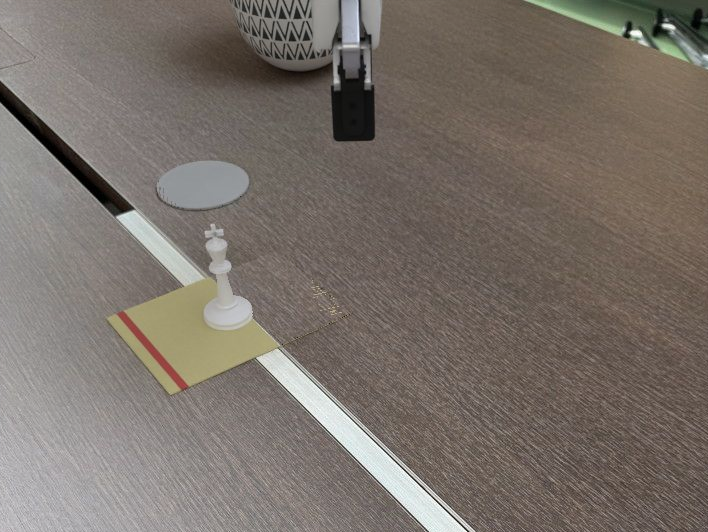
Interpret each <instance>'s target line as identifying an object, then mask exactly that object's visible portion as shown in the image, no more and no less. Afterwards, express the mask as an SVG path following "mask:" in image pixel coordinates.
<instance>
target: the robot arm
mask: <svg viewBox="0 0 708 532" xmlns="http://www.w3.org/2000/svg"><path fill="white" fill-rule="evenodd" d="M311 12H312V31H313V47H314V49H315V50H316V51H317V52H318V53H322V50H329V49H330V47H331V44H332V52H333V61H332V76H333V85H330V98H331V99H330V100H331V101H330V103H331V119H332V136H333V137H332V138H333V140H334V141H335V142H338V143H340V142H342V143H343V142H347V143H348V142H372V141H374V140H375V138H376V105H375V103H376V102H375V101H376V100H375V99H376V98H375V84H372V82H373V55H372V54H373V52H374V51H376V49H377V48H378V47H379V46H380V38H381V37H380V36H381V24H382V12H383V0H311ZM337 31H338V33H337Z"/></svg>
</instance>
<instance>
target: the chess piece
mask: <svg viewBox="0 0 708 532" xmlns="http://www.w3.org/2000/svg"><path fill="white" fill-rule="evenodd" d="M209 224H210V230H204V235H205V236H204V237H205V239H207V238H211V239H208V240H207V241H206V243H205V244H204V245H205V250H206V252H207V253H208V254H209V257H210V258H211V260H212V261H211V262H210V263H209V265H208V270H209V272H210V273H211V274H213V275H215V274H216V279H217V298H215V299H213V300H211V301H210V302H209V303H208V304H207V305H206V306H205V308H204V321H205V323H206V324H207V325H208V326H209V327H211V328H213V329H216V330H222V331H229V330H235V329H239V328H241V327H243V326H245V325H246V324H248V323H249V322H250V321H251V319H252V318H253V317H252V316H253V314H252V313H253V311H252V305H251V303H250V302H249V301H248V300H247V299H245V298H243V297H241V296H236V295H233V292H232V289H231V286H230V283H229V280H228V276H227V272H229V271H230V270H231V268H232V267H233V266H232V263H231V261H229V260H228V259H226V256H227V250H228V242H227V241H226V240H225V239H223V238H221V237H223V236H225V232H224V228H218V229H217V226H216V223H209ZM218 237H219V238H218Z"/></svg>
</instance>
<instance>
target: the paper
mask: <svg viewBox="0 0 708 532" xmlns="http://www.w3.org/2000/svg"><path fill="white" fill-rule="evenodd" d="M209 277H210V276H208V277H205V278H202V279H200V280H198V281H195V282H192V283H190V284H188V285H185V286H182V287H180V288H177V289H175V290H172V291H170V292H167V293H165V294H162V295H160V296H157V297H155V298H152V299H150V300H147V301H145V302H143V303H140V304H137V305H135V306H132V307H130V308H128V309H125V310H122V311H119V312H117V313H115V314H112V315H110V316H107V317H105V318H106V321H107V322H108V323H109V324H110V325H111V327H112V328H113V329H114V331H115V332H116V333H117V334H118V335H119V336H120V338H121V339H122V340H123V341H124V342H125V344H126V345H127V346H128V347H129V348H130V350H131V351H132V352H133V353H134V355H136V357H137V358H138V359H139V360H140V361H141V363H142V364H143V365H144V366H145V368H146V369H147V370H148V371H149V372H150V374H152V376H153V377H154V378H155V379H156V380H157V382H158V383H159V384H160V386H161V387H162V388H163V389H164V390H165V392H167V394H168V395H169V396H174V395H176V394H178V393H181V392H182V391H185V390H188V389H189V388H191V387H194V386H196V385H198V384H200V383H202V382H204V381H207V380H209V379H211V378H213V377H216V376H218V375H221V374H223V373H225V372H227V371H229V370H231V369H234V368H237V367H238V366H241V365H242V364H245V363H247V362H249V361H251V360H253V359H254V360H255V359H256V358H258V357H260V356H263V355H265V354H267V353H269V352H271V351H273V350H276V349H279V348H281V347H283V346H286V345H287V344H289V343H292V342H293V341H296V340H299V339H301V338H303V337H305V336H307V335H310V334H311V333H314V332H316V331H319V330H321V329H322V328H325V327H327V326H330V325H331V324H334V323H336V322H338V321H341V320H342V319H345V318H347V317H349V316H352V314H353V313H352V314H350V315H347V316H345V317H343V318H341V319H339V320H336V321H334V322H332V323H330V324H327V325H325V326H323V327H321V328H319V329H316V330H314V331H312V332H310V333H307V334H305V335H303V336H301V337H298V338H296V339H294V340H292V341H290V342H287V343H285V344H283V345H281V346H279V345H278V344H277V342H275V341H274V340H273V339H272V338H271V337H269V335H268V334H266V332H265V331H264V330H263V329H262V328H261V327H260V326H258V324H257V323H256V322H255V321H254V320H253V318H252V319H251V321H250V322H249V323H248V324H246V325H245V326H243V327H241V328H239V329H235V330H229V331H222V330H216V329H213V328H211V327H209V326H208V325H207V324H206V323H205V321H204V308H205V306H206V305H207V304H208V303H209V302H210V301H211V300H213V299H215V298H217V284H216V282H215V280H213V279H212V278H209ZM313 280H314V279H313ZM313 280H312V281H313ZM312 283H313V282H312ZM291 286H292V285H291ZM316 287H319V286H316ZM311 288H315V287H311ZM318 289H320V288H318ZM313 290H315V289H313ZM320 291H322V290H320ZM317 292H318V291H317ZM326 292H327V291H326ZM326 292H322V293H326ZM322 293H318V294H322ZM318 294H314V295H318ZM325 295H326V294H325ZM321 296H322V295H321ZM317 297H318V296H317ZM331 297H333V295H331ZM313 298H315V297H313ZM333 299H336V298H335V297H333ZM331 300H332V299H331ZM319 305H320V304H319ZM334 305H335V304H334ZM337 307H339V306H337ZM332 308H335V307H332ZM328 309H330V308H328ZM324 310H326V309H324ZM320 311H322V310H320ZM335 311H336V310H333V311H330V312H332V313H333V312H335ZM339 313H342V312H339ZM335 314H337V313H335ZM331 315H334V314H331Z"/></svg>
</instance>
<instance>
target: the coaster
mask: <svg viewBox="0 0 708 532" xmlns="http://www.w3.org/2000/svg"><path fill="white" fill-rule="evenodd" d="M158 180H159V182H158V181H157V182H156V185H155V188H156V187H157V191H158V192H159V187H161V190H160V194H161V198H162V200H163V188H164V200H165V201H166V202H167V197H168V203H169V204H171V201H172V204H173V205H175V203H176V205H175V206H177V207H183V208H186V209H182V208H177V207H174V206H171V205H172V204H171V205H169V204H167V203H165V202H164V201H162V200H161V201H162V203H164V204H165V205H167V206H170V207H171V208H174V209H179V210H184V211H192V210H191V209H199V210H198V211H209V210H214V209H215V210H216V209H218V208H222V207H225V206H227V205H231V204H232V203H234V202H236V201H237V200H238V201H239V199H240V198H242V197H243V196H244V195H245V194H247V191H248V190H249V188H250V176H249V175H248V173H247V171H245V169H243V168H242V167H240V166H238V165H237V164H234V163H230V162H227V161H223V160H198V161H192V162H191V161H190V162H187V163H184V164H180V165H178V166H175V167H173V168H171V169H169V170H167V171H166V172H165V173H164V174H162V175H161V177H159V179H158ZM240 196H241V197H240ZM157 197H158V198H159V196H158V195H157ZM234 200H235V201H234ZM222 205H223V206H222ZM187 208H188V209H187ZM200 209H201V210H200Z"/></svg>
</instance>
